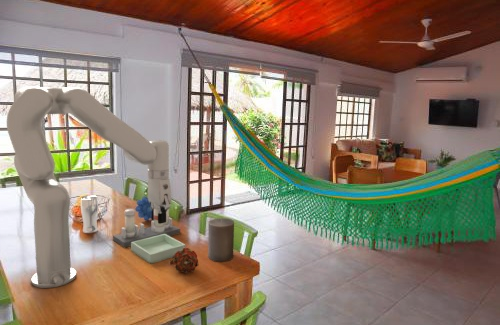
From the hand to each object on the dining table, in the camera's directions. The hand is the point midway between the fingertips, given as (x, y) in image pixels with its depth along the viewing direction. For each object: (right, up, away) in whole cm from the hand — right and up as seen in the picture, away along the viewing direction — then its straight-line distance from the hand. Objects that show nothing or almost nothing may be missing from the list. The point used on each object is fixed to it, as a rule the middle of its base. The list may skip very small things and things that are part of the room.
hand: (158, 220), depth 138 cm
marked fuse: (0, -4, +1) cm, 4 cm away
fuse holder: (-9, -9, +17) cm, 22 cm away
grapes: (-14, -6, +37) cm, 40 cm away
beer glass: (-35, -8, +21) cm, 42 cm away
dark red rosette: (+12, -15, -12) cm, 23 cm away
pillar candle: (+23, -14, 0) cm, 27 cm away
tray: (-1, -12, +2) cm, 12 cm away
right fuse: (-3, -7, +22) cm, 24 cm away
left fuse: (-15, -8, +11) cm, 20 cm away
